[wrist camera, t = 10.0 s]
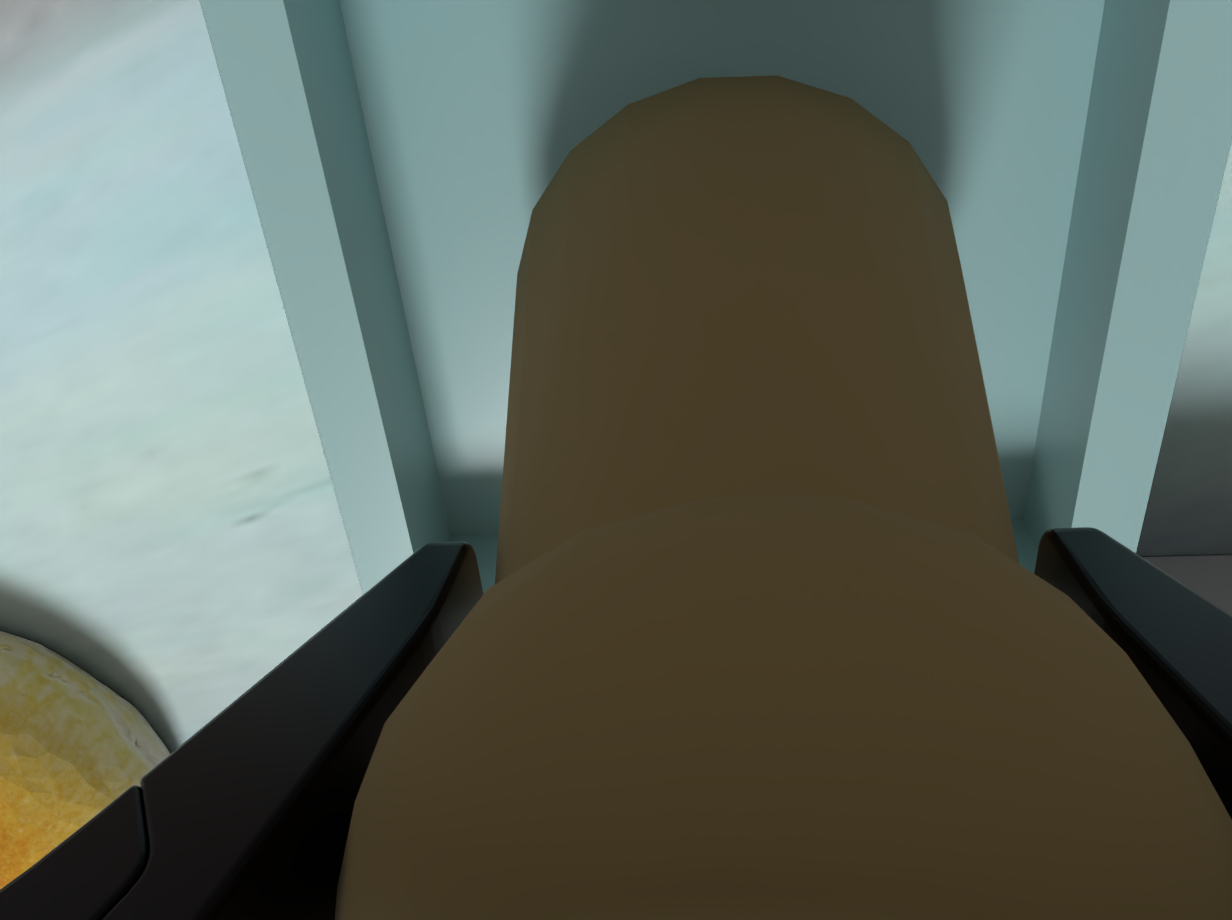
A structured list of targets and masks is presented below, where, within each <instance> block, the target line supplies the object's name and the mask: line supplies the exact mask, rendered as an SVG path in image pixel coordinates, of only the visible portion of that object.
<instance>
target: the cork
mask: <svg viewBox="0 0 1232 920" xmlns="http://www.w3.org/2000/svg"><path fill="white" fill-rule="evenodd" d="M335 920H1232V819H1231V818H1230V816H1229V814H1228V812H1227V810H1226V808H1225V807H1224V805H1223V803H1222V801H1221V799H1220V797H1219V796H1218V794H1217V792H1216V790H1215V788H1214V787H1213V785H1212V783H1211V781H1210V779H1209V777H1208V776H1207V774H1206V772H1205V770H1204V768H1203V766H1202V765H1201V763H1200V761H1199V759H1198V757H1197V755H1196V754H1195V752H1194V750H1193V748H1192V746H1191V744H1190V743H1189V741H1188V740H1187V738H1186V737H1185V735H1184V734H1183V733H1182V731H1181V730H1180V728H1179V727H1178V726H1177V724H1176V723H1175V721H1174V720H1173V718H1172V717H1171V716H1170V714H1169V713H1168V711H1167V710H1166V709H1165V707H1164V706H1163V704H1162V703H1161V702H1160V700H1159V699H1158V697H1157V696H1156V694H1155V693H1154V692H1153V690H1152V689H1151V687H1150V686H1149V685H1148V683H1147V682H1146V680H1145V679H1144V677H1143V676H1142V675H1141V673H1140V672H1139V670H1138V669H1137V668H1136V666H1135V665H1134V663H1133V662H1132V661H1131V659H1130V658H1129V656H1128V655H1127V653H1126V652H1125V651H1124V650H1123V649H1122V648H1121V647H1120V646H1119V645H1118V644H1117V643H1116V642H1115V641H1113V640H1112V639H1111V638H1110V637H1109V636H1108V635H1107V634H1106V633H1105V632H1104V631H1103V630H1102V629H1101V628H1100V627H1099V626H1098V625H1097V624H1096V623H1095V622H1094V621H1093V620H1092V619H1091V618H1090V617H1089V616H1088V615H1087V614H1086V613H1085V612H1084V611H1083V610H1082V609H1081V608H1080V607H1079V606H1078V605H1077V604H1076V603H1075V602H1074V601H1073V600H1072V599H1071V598H1070V597H1069V596H1068V595H1066V594H1065V593H1063V592H1062V591H1060V590H1058V589H1057V588H1055V587H1054V586H1052V585H1051V584H1049V583H1048V582H1046V581H1044V580H1043V579H1041V578H1040V577H1038V576H1037V575H1035V574H1034V573H1032V572H1030V571H1029V570H1027V569H1026V568H1024V567H1023V566H1021V565H1020V564H1019V559H1018V554H1017V549H1016V544H1015V539H1014V533H1013V528H1012V523H1011V518H1010V513H1009V508H1008V503H1007V498H1006V493H1005V487H1004V482H1003V477H1002V472H1001V467H1000V462H999V457H998V452H997V447H996V441H995V436H994V431H993V426H992V421H991V416H990V411H989V406H988V401H987V395H986V390H985V385H984V380H983V375H982V370H981V365H980V360H979V355H978V349H977V344H976V339H975V334H974V329H973V324H972V319H971V314H970V309H969V303H968V298H967V293H966V288H965V283H964V278H963V273H962V268H961V263H960V258H959V254H958V249H957V244H956V239H955V235H954V230H953V225H952V221H951V216H950V211H949V207H948V202H947V200H946V198H945V197H944V195H943V194H942V192H941V191H940V189H939V188H938V186H937V184H936V183H935V181H934V180H933V178H932V177H931V175H930V173H929V172H928V170H927V169H926V167H925V166H924V164H923V163H922V161H921V159H920V158H919V156H918V155H917V153H916V152H915V150H914V149H913V147H912V145H911V144H910V142H909V141H907V140H906V139H905V138H903V137H902V136H901V135H899V134H898V133H897V132H895V131H894V130H893V129H891V128H890V127H889V126H887V125H886V124H885V123H883V122H882V121H881V120H879V119H878V118H877V117H875V116H874V115H873V114H871V113H870V112H869V111H867V110H866V109H865V108H863V107H862V106H861V105H859V104H858V103H857V102H855V101H854V100H853V99H851V98H849V97H846V96H842V95H839V94H836V93H833V92H829V91H826V90H823V89H820V88H816V87H813V86H810V85H807V84H803V83H800V82H797V81H794V80H790V79H787V78H784V77H781V76H777V75H776V76H745V77H714V78H698V79H695V80H693V81H690V82H687V83H685V84H682V85H679V86H677V87H674V88H671V89H668V90H666V91H663V92H660V93H658V94H655V95H652V96H650V97H647V98H644V99H641V100H639V101H636V102H633V103H631V104H628V105H626V106H625V107H624V108H623V109H621V110H620V111H619V112H618V113H617V114H615V115H614V116H613V117H612V118H610V119H609V120H608V121H607V122H605V123H604V124H603V125H602V126H600V127H599V128H598V129H597V130H595V131H594V132H593V133H592V134H590V135H589V136H588V137H587V138H585V139H584V140H583V141H582V142H580V143H579V144H578V145H577V146H575V147H574V148H573V149H572V150H571V151H570V152H569V153H568V155H567V156H566V158H565V159H564V161H563V163H562V164H561V166H560V167H559V169H558V170H557V172H556V174H555V175H554V177H553V178H552V180H551V182H550V183H549V185H548V186H547V188H546V189H545V191H544V193H543V194H542V196H541V197H540V199H539V200H538V202H537V204H536V205H535V207H534V208H533V210H532V214H531V218H530V222H529V227H528V231H527V235H526V239H525V243H524V248H523V252H522V256H521V260H520V265H519V269H518V273H517V285H516V298H515V312H514V326H513V340H512V354H511V368H510V382H509V395H508V409H507V423H506V437H505V451H504V465H503V479H502V492H501V506H500V520H499V534H498V548H497V562H496V576H495V585H493V586H492V587H490V588H488V589H487V591H486V592H485V593H484V595H483V596H482V597H481V598H480V600H479V601H478V602H477V604H476V605H475V606H474V607H473V609H472V610H471V611H470V613H469V614H468V615H467V616H466V618H465V619H464V620H463V621H462V623H461V624H460V625H459V627H458V628H457V629H456V630H455V632H454V633H453V634H452V636H451V637H450V638H449V639H448V641H447V642H446V643H445V644H444V646H443V647H442V648H441V650H440V651H439V652H438V653H437V655H436V656H435V657H434V659H433V660H432V661H431V662H430V664H429V665H428V666H427V668H426V669H425V670H424V672H423V673H422V674H421V676H420V677H419V678H418V680H417V681H416V682H415V684H414V685H413V686H412V687H411V689H410V690H409V691H408V693H407V694H406V695H405V697H404V698H403V699H402V701H401V702H400V703H399V705H398V706H397V707H396V709H395V710H394V711H393V713H392V714H391V715H390V716H389V718H388V719H387V720H386V722H385V723H384V726H383V729H382V731H381V734H380V736H379V739H378V742H377V744H376V747H375V750H374V752H373V755H372V758H371V760H370V763H369V766H368V768H367V771H366V773H365V776H364V779H363V781H362V784H361V787H360V789H359V792H358V795H357V797H356V800H355V803H354V808H353V813H352V817H351V822H350V827H349V832H348V837H347V842H346V847H345V852H344V857H343V861H342V866H341V871H340V876H339V881H338V886H337V895H336V909H335Z"/></svg>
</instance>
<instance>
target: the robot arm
mask: <svg viewBox="0 0 1232 920" xmlns="http://www.w3.org/2000/svg"><path fill="white" fill-rule="evenodd" d="M1034 574H1035V575H1037V576H1038V577H1040V578H1041V579H1043V580H1044V581H1046V582H1048V583H1049V584H1051V585H1052V586H1054V587H1055V588H1057V589H1058V590H1060V591H1062V592H1063V593H1065V594H1066V595H1068V596H1069V597H1070V598H1071V599H1072V600H1073V601H1074V602H1075V603H1076V604H1077V605H1078V606H1079V607H1080V608H1081V609H1082V610H1083V611H1084V612H1085V613H1086V614H1087V615H1088V616H1089V617H1090V618H1091V619H1092V620H1093V621H1094V622H1095V623H1096V624H1097V625H1098V626H1099V627H1100V628H1101V629H1102V630H1103V631H1104V632H1105V633H1106V634H1107V635H1108V636H1109V637H1110V638H1111V639H1112V640H1113V641H1115V642H1116V643H1117V644H1118V645H1119V646H1120V647H1121V648H1122V649H1123V650H1124V651H1125V652H1126V653H1127V655H1128V656H1129V658H1130V659H1131V661H1132V662H1133V663H1134V665H1135V666H1136V668H1137V669H1138V670H1139V672H1140V673H1141V675H1142V676H1143V677H1144V679H1145V680H1146V682H1147V683H1148V685H1149V686H1150V687H1151V689H1152V690H1153V692H1154V693H1155V694H1156V696H1157V697H1158V699H1159V700H1160V702H1161V703H1162V704H1163V706H1164V707H1165V709H1166V710H1167V711H1168V713H1169V714H1170V716H1171V717H1172V718H1173V720H1174V721H1175V723H1176V724H1177V726H1178V727H1179V728H1180V730H1181V731H1182V733H1183V734H1184V735H1185V737H1186V738H1187V740H1188V741H1189V743H1190V744H1191V746H1192V748H1193V750H1194V752H1195V754H1196V755H1197V757H1198V759H1199V761H1200V763H1201V765H1202V766H1203V768H1204V770H1205V772H1206V774H1207V776H1208V777H1209V779H1210V781H1211V783H1212V785H1213V787H1214V788H1215V790H1216V792H1217V794H1218V796H1219V797H1220V799H1221V801H1222V803H1223V805H1224V807H1225V808H1226V810H1227V812H1228V814H1229V816H1230V818H1231V819H1232V615H1231V614H1229V613H1228V612H1226V611H1224V610H1223V609H1221V608H1220V607H1218V606H1217V605H1215V604H1214V603H1212V602H1211V601H1209V600H1207V599H1206V598H1204V597H1203V596H1201V595H1200V594H1198V593H1197V592H1195V591H1194V590H1192V589H1190V588H1189V587H1187V586H1186V585H1184V584H1183V583H1181V582H1180V581H1178V580H1177V579H1175V578H1173V577H1172V576H1170V575H1169V574H1167V573H1166V572H1164V571H1163V570H1161V569H1160V568H1158V567H1156V566H1155V565H1153V564H1152V563H1150V562H1149V561H1147V560H1146V559H1144V558H1143V557H1141V556H1139V555H1138V554H1136V553H1135V552H1133V551H1132V550H1130V549H1129V548H1127V547H1126V546H1124V545H1122V544H1121V543H1119V542H1118V541H1116V540H1115V539H1113V538H1112V537H1110V536H1109V535H1107V534H1105V533H1104V532H1102V531H1100V530H1098V529H1096V528H1092V527H1078V528H1051V529H1048V530H1047V531H1046V532H1045V533H1043V535H1042V537H1041V539H1040V542H1039V546H1038V552H1037V558H1036V564H1035V570H1034ZM483 595H484V593H483V588H482V583H481V578H480V573H479V568H478V562H477V557H476V553H475V551H474V549H473V547H472V546H471V545H470V544H469V543H467V542H431V543H427V544H425V545H423V546H422V547H420V548H419V549H418V550H417V551H416V552H414V553H413V554H412V555H411V556H409V557H408V558H407V559H406V560H405V561H403V562H402V563H401V564H400V565H399V566H397V567H396V568H395V569H394V570H393V571H391V572H390V573H389V574H388V575H386V576H385V577H384V578H383V579H382V580H380V581H379V582H378V583H377V584H376V585H374V586H373V587H372V588H371V589H370V590H368V591H367V592H366V593H365V594H363V595H362V596H361V597H360V598H359V599H357V600H356V601H355V602H354V603H353V604H351V605H350V606H349V607H348V608H347V609H345V610H344V611H343V612H342V613H340V614H339V615H338V616H337V617H336V618H334V619H333V620H332V621H331V622H330V623H328V624H327V625H326V626H325V627H324V628H322V629H321V630H320V631H319V632H318V633H316V634H315V635H314V636H313V637H311V638H310V639H309V640H308V641H307V642H305V643H304V644H303V645H302V646H301V647H299V648H298V649H297V650H296V651H295V652H293V653H292V654H291V655H290V656H288V657H287V658H286V659H285V660H284V661H282V662H281V663H280V664H279V665H278V666H276V667H275V668H274V669H273V670H272V671H270V672H269V673H268V674H267V675H265V676H264V677H263V678H262V679H261V680H259V681H258V682H257V683H256V684H255V685H253V686H252V687H251V688H250V689H249V690H247V691H246V692H245V693H244V694H242V695H241V696H240V697H239V698H238V699H236V700H235V701H234V702H233V703H232V704H230V705H229V706H228V707H227V708H226V709H224V710H223V711H222V712H221V713H219V714H218V715H217V716H216V717H215V718H213V719H212V720H211V721H210V722H209V723H207V724H206V725H205V726H204V727H203V728H201V729H200V730H199V731H198V732H196V733H195V734H194V735H193V736H192V737H190V738H189V739H188V740H187V741H186V742H184V743H183V744H182V745H181V746H180V747H178V748H177V749H176V750H175V751H174V752H172V753H171V754H170V755H169V756H167V757H166V758H165V759H164V760H163V761H161V762H160V763H159V764H158V765H157V766H155V767H154V768H153V769H152V770H151V771H149V772H148V773H147V774H146V775H144V776H143V777H142V779H141V781H140V785H141V787H140V786H138V785H133V786H131V787H129V788H128V789H127V790H126V791H125V792H123V793H122V794H121V795H120V796H119V797H117V798H116V799H115V800H114V801H113V802H111V803H110V804H109V805H108V806H106V807H105V808H104V809H103V810H102V811H100V812H99V813H98V814H97V815H96V816H94V817H93V818H92V819H91V820H89V821H88V822H87V823H86V824H84V825H83V826H82V827H81V828H79V829H78V830H77V831H75V832H74V833H73V834H72V835H70V836H69V837H68V838H67V839H65V840H64V841H63V842H62V843H60V844H59V845H58V846H57V847H55V848H54V849H53V850H52V851H50V852H49V853H48V854H46V855H45V856H44V857H43V858H41V859H40V860H39V861H38V862H36V863H35V864H34V865H33V866H31V867H30V868H29V869H27V870H26V871H25V872H23V873H22V874H20V875H19V876H18V877H16V878H15V879H14V880H12V881H11V882H10V883H8V884H7V885H6V886H4V887H3V888H1V889H0V920H335V909H336V895H337V886H338V881H339V876H340V871H341V866H342V861H343V857H344V852H345V847H346V842H347V837H348V832H349V827H350V822H351V817H352V813H353V808H354V803H355V800H356V797H357V795H358V792H359V789H360V787H361V784H362V781H363V779H364V776H365V773H366V771H367V768H368V766H369V763H370V760H371V758H372V755H373V752H374V750H375V747H376V744H377V742H378V739H379V736H380V734H381V731H382V729H383V726H384V723H385V722H386V720H387V719H388V718H389V716H390V715H391V714H392V713H393V711H394V710H395V709H396V707H397V706H398V705H399V703H400V702H401V701H402V699H403V698H404V697H405V695H406V694H407V693H408V691H409V690H410V689H411V687H412V686H413V685H414V684H415V682H416V681H417V680H418V678H419V677H420V676H421V674H422V673H423V672H424V670H425V669H426V668H427V666H428V665H429V664H430V662H431V661H432V660H433V659H434V657H435V656H436V655H437V653H438V652H439V651H440V650H441V648H442V647H443V646H444V644H445V643H446V642H447V641H448V639H449V638H450V637H451V636H452V634H453V633H454V632H455V630H456V629H457V628H458V627H459V625H460V624H461V623H462V621H463V620H464V619H465V618H466V616H467V615H468V614H469V613H470V611H471V610H472V609H473V607H474V606H475V605H476V604H477V602H478V601H479V600H480V598H481V597H482V596H483Z"/></svg>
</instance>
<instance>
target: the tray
mask: <svg viewBox="0 0 1232 920" xmlns="http://www.w3.org/2000/svg"><path fill="white" fill-rule="evenodd" d="M199 1H200V4H201V8H202V11H203V15H204V19H205V22H206V26H207V30H208V33H209V37H210V41H211V44H212V48H213V51H214V55H215V59H216V62H217V66H218V70H219V73H220V77H221V80H222V84H223V88H224V91H225V95H226V99H227V102H228V106H229V110H230V113H231V117H232V120H233V124H234V128H235V131H236V135H237V139H238V142H239V146H240V149H241V153H242V157H243V160H244V164H245V168H246V171H247V175H248V179H249V182H250V186H251V189H252V193H253V197H254V200H255V204H256V208H257V211H258V215H259V218H260V222H261V226H262V229H263V233H264V237H265V240H266V244H267V248H268V251H269V255H270V258H271V262H272V266H273V269H274V273H275V277H276V280H277V284H278V287H279V291H280V295H281V298H282V302H283V306H284V309H285V313H286V317H287V320H288V324H289V327H290V331H291V335H292V338H293V342H294V346H295V349H296V353H297V357H298V360H299V364H300V367H301V371H302V375H303V378H304V382H305V386H306V389H307V393H308V396H309V400H310V404H311V407H312V411H313V415H314V418H315V422H316V426H317V429H318V433H319V436H320V440H321V444H322V447H323V451H324V455H325V458H326V462H327V465H328V469H329V473H330V476H331V480H332V484H333V487H334V491H335V495H336V498H337V502H338V505H339V509H340V513H341V516H342V520H343V524H344V527H345V531H346V534H347V538H348V542H349V545H350V549H351V553H352V556H353V560H354V564H355V567H356V571H357V574H358V578H359V582H360V585H361V589H362V593H363V594H365V593H366V592H367V591H368V590H370V589H371V588H372V587H373V586H374V585H376V584H377V583H378V582H379V581H380V580H382V579H383V578H384V577H385V576H386V575H388V574H389V573H390V572H391V571H393V570H394V569H395V568H396V567H397V566H399V565H400V564H401V563H402V562H403V561H405V560H406V559H407V558H408V557H409V556H411V555H412V554H413V553H414V552H416V551H417V550H418V549H419V548H420V547H422V546H423V545H425V544H427V543H431V542H467V543H469V544H470V545H471V546H472V547H473V549H474V551H475V553H476V557H477V562H478V568H479V573H480V578H481V583H482V588H483V593H485V592H486V591H487V589H488V588H490V587H492V586H493V585H495V576H496V562H497V548H498V534H499V520H500V506H501V492H502V479H503V465H504V451H505V437H506V423H507V409H508V395H509V382H510V368H511V354H512V340H513V326H514V312H515V298H516V285H517V273H518V269H519V265H520V260H521V256H522V252H523V248H524V243H525V239H526V235H527V231H528V227H529V222H530V218H531V214H532V210H533V208H534V207H535V205H536V204H537V202H538V200H539V199H540V197H541V196H542V194H543V193H544V191H545V189H546V188H547V186H548V185H549V183H550V182H551V180H552V178H553V177H554V175H555V174H556V172H557V170H558V169H559V167H560V166H561V164H562V163H563V161H564V159H565V158H566V156H567V155H568V153H569V152H570V151H571V150H572V149H573V148H574V147H575V146H577V145H578V144H579V143H580V142H582V141H583V140H584V139H585V138H587V137H588V136H589V135H590V134H592V133H593V132H594V131H595V130H597V129H598V128H599V127H600V126H602V125H603V124H604V123H605V122H607V121H608V120H609V119H610V118H612V117H613V116H614V115H615V114H617V113H618V112H619V111H620V110H621V109H623V108H624V107H625V106H626V105H628V104H631V103H633V102H636V101H639V100H641V99H644V98H647V97H650V96H652V95H655V94H658V93H660V92H663V91H666V90H668V89H671V88H674V87H677V86H679V85H682V84H685V83H687V82H690V81H693V80H695V79H698V78H714V77H745V76H776V75H777V76H781V77H784V78H787V79H790V80H794V81H797V82H800V83H803V84H807V85H810V86H813V87H816V88H820V89H823V90H826V91H829V92H833V93H836V94H839V95H842V96H846V97H849V98H851V99H853V100H854V101H855V102H857V103H858V104H859V105H861V106H862V107H863V108H865V109H866V110H867V111H869V112H870V113H871V114H873V115H874V116H875V117H877V118H878V119H879V120H881V121H882V122H883V123H885V124H886V125H887V126H889V127H890V128H891V129H893V130H894V131H895V132H897V133H898V134H899V135H901V136H902V137H903V138H905V139H906V140H907V141H909V142H910V144H911V145H912V147H913V149H914V150H915V152H916V153H917V155H918V156H919V158H920V159H921V161H922V163H923V164H924V166H925V167H926V169H927V170H928V172H929V173H930V175H931V177H932V178H933V180H934V181H935V183H936V184H937V186H938V188H939V189H940V191H941V192H942V194H943V195H944V197H945V198H946V200H947V202H948V207H949V211H950V216H951V221H952V225H953V230H954V235H955V239H956V244H957V249H958V254H959V258H960V263H961V268H962V273H963V278H964V283H965V288H966V293H967V298H968V303H969V309H970V314H971V319H972V324H973V329H974V334H975V339H976V344H977V349H978V355H979V360H980V365H981V370H982V375H983V380H984V385H985V390H986V395H987V401H988V406H989V411H990V416H991V421H992V426H993V431H994V436H995V441H996V447H997V452H998V457H999V462H1000V467H1001V472H1002V477H1003V482H1004V487H1005V493H1006V498H1007V503H1008V508H1009V513H1010V518H1011V523H1012V528H1013V533H1014V539H1015V544H1016V549H1017V554H1018V559H1019V564H1020V565H1021V566H1023V567H1024V568H1026V569H1027V570H1029V571H1030V572H1032V573H1034V570H1035V564H1036V558H1037V552H1038V546H1039V542H1040V539H1041V537H1042V535H1043V533H1045V532H1046V531H1047V530H1048V529H1051V528H1078V527H1092V528H1096V529H1098V530H1100V531H1102V532H1104V533H1105V534H1107V535H1109V536H1110V537H1112V538H1113V539H1115V540H1116V541H1118V542H1119V543H1121V544H1122V545H1124V546H1126V547H1127V548H1129V549H1130V550H1132V551H1133V552H1135V553H1136V551H1137V547H1138V542H1139V538H1140V534H1141V529H1142V525H1143V521H1144V516H1145V512H1146V508H1147V503H1148V499H1149V495H1150V491H1151V486H1152V482H1153V478H1154V473H1155V469H1156V465H1157V460H1158V456H1159V452H1160V447H1161V443H1162V439H1163V434H1164V430H1165V426H1166V421H1167V417H1168V413H1169V409H1170V404H1171V400H1172V396H1173V391H1174V387H1175V383H1176V378H1177V374H1178V370H1179V365H1180V361H1181V357H1182V352H1183V348H1184V344H1185V340H1186V335H1187V331H1188V327H1189V322H1190V318H1191V314H1192V309H1193V305H1194V301H1195V296H1196V292H1197V288H1198V283H1199V279H1200V275H1201V271H1202V266H1203V262H1204V258H1205V253H1206V249H1207V245H1208V240H1209V236H1210V232H1211V227H1212V223H1213V219H1214V214H1215V210H1216V206H1217V201H1218V197H1219V193H1220V189H1221V184H1222V180H1223V176H1224V171H1225V167H1226V163H1227V158H1228V154H1229V150H1230V145H1231V141H1232V0H199Z"/></svg>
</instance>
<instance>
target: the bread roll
mask: <svg viewBox="0 0 1232 920" xmlns="http://www.w3.org/2000/svg"><path fill="white" fill-rule="evenodd" d="M169 755H170V753H169V751H168V749H167V748H166V746H165V745H164V744H163V742H162V741H161V740H160V738H159V737H158V736H157V734H156V733H155V732H154V730H153V729H152V728H151V726H150V725H149V723H148V722H147V720H146V719H145V718H144V717H143V716H142V714H141V713H140V712H139V711H138V710H137V709H136V708H135V707H134V706H133V705H132V704H130V703H129V702H128V701H126V700H125V699H123V698H121V697H120V696H119V695H117V694H116V693H115V692H114V691H112V690H111V689H110V688H108V687H107V686H105V685H103V684H102V683H100V682H99V681H98V680H96V679H95V678H94V677H93V676H91V675H90V674H88V673H87V672H85V671H84V670H82V669H81V668H79V667H78V666H76V665H75V664H73V663H72V662H70V661H69V660H67V659H65V658H64V657H62V656H60V655H59V654H57V653H55V652H53V651H52V650H50V649H48V648H46V647H44V646H42V645H41V644H38V643H36V642H33V641H30V640H27V639H24V638H21V637H19V636H16V635H13V634H9V633H6V632H3V631H0V889H1V888H3V887H4V886H6V885H7V884H8V883H10V882H11V881H12V880H14V879H15V878H16V877H18V876H19V875H20V874H22V873H23V872H25V871H26V870H27V869H29V868H30V867H31V866H33V865H34V864H35V863H36V862H38V861H39V860H40V859H41V858H43V857H44V856H45V855H46V854H48V853H49V852H50V851H52V850H53V849H54V848H55V847H57V846H58V845H59V844H60V843H62V842H63V841H64V840H65V839H67V838H68V837H69V836H70V835H72V834H73V833H74V832H75V831H77V830H78V829H79V828H81V827H82V826H83V825H84V824H86V823H87V822H88V821H89V820H91V819H92V818H93V817H94V816H96V815H97V814H98V813H99V812H100V811H102V810H103V809H104V808H105V807H106V806H108V805H109V804H110V803H111V802H113V801H114V800H115V799H116V798H117V797H119V796H120V795H121V794H122V793H123V792H125V791H126V790H127V789H128V788H129V787H131V786H133V785H138V786H140V787H141V785H140V781H141V779H142V777H143V776H144V775H146V774H147V773H148V772H149V771H151V770H152V769H153V768H154V767H155V766H157V765H158V764H159V763H160V762H161V761H163V760H164V759H165V758H166V757H167V756H169Z"/></svg>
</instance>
